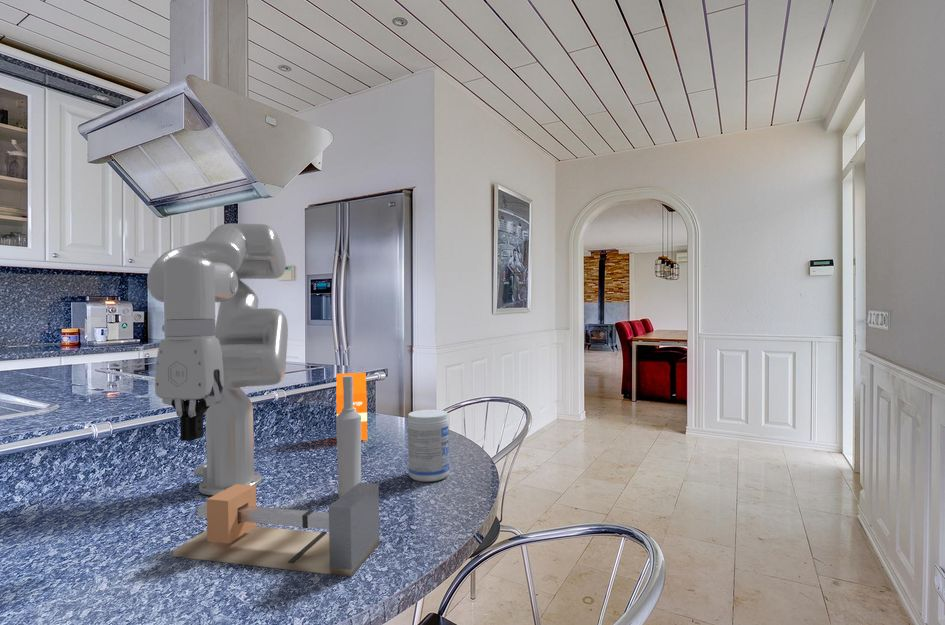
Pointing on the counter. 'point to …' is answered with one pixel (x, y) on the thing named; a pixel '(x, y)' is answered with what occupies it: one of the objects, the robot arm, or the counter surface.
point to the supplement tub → (428, 445)
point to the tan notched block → (229, 513)
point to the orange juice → (354, 398)
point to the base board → (269, 550)
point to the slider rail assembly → (330, 523)
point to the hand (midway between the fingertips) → (192, 438)
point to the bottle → (348, 441)
